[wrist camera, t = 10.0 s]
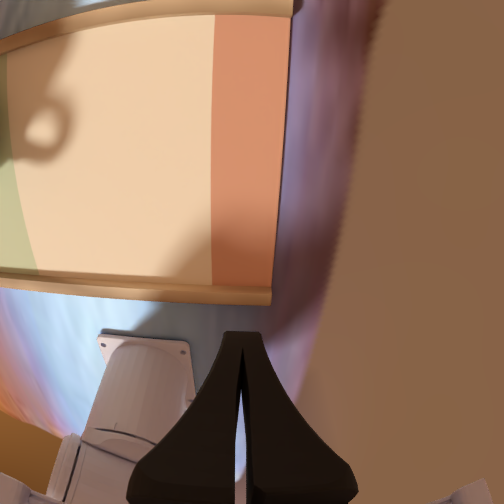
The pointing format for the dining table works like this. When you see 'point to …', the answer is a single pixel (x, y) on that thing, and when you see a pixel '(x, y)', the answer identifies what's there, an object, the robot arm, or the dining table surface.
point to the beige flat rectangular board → (145, 151)
